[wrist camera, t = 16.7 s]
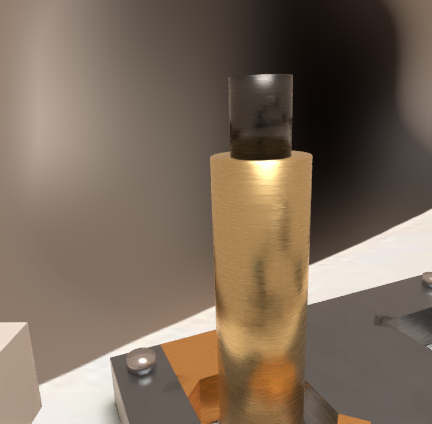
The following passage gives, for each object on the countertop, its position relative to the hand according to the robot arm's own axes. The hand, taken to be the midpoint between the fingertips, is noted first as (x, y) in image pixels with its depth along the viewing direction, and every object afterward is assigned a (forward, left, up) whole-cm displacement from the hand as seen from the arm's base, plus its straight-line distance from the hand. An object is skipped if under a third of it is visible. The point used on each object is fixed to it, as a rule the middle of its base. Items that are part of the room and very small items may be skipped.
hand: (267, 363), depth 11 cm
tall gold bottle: (+6, -3, -10) cm, 12 cm away
